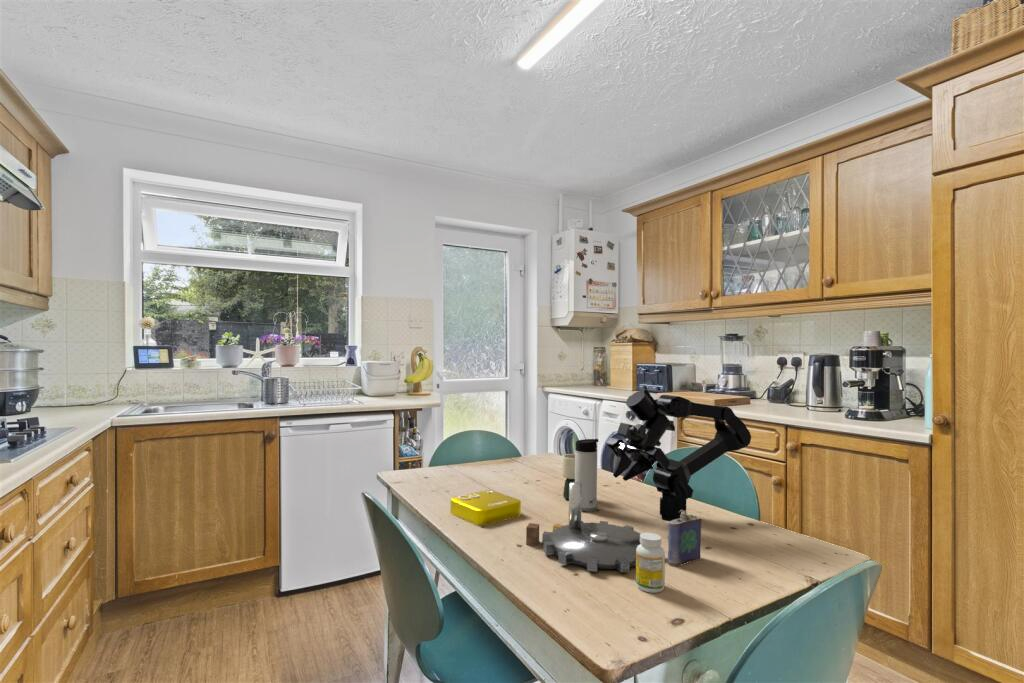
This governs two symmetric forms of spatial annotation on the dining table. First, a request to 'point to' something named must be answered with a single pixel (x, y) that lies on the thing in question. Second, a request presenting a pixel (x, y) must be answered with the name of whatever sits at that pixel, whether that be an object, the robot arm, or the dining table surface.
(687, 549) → the flask
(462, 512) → the element tile
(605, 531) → the sprocket
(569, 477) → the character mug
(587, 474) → the travel mug
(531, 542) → the brown rectangular block
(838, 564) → the dining table surface
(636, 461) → the robot arm
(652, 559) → the supplement bottle
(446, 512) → the dining table surface
